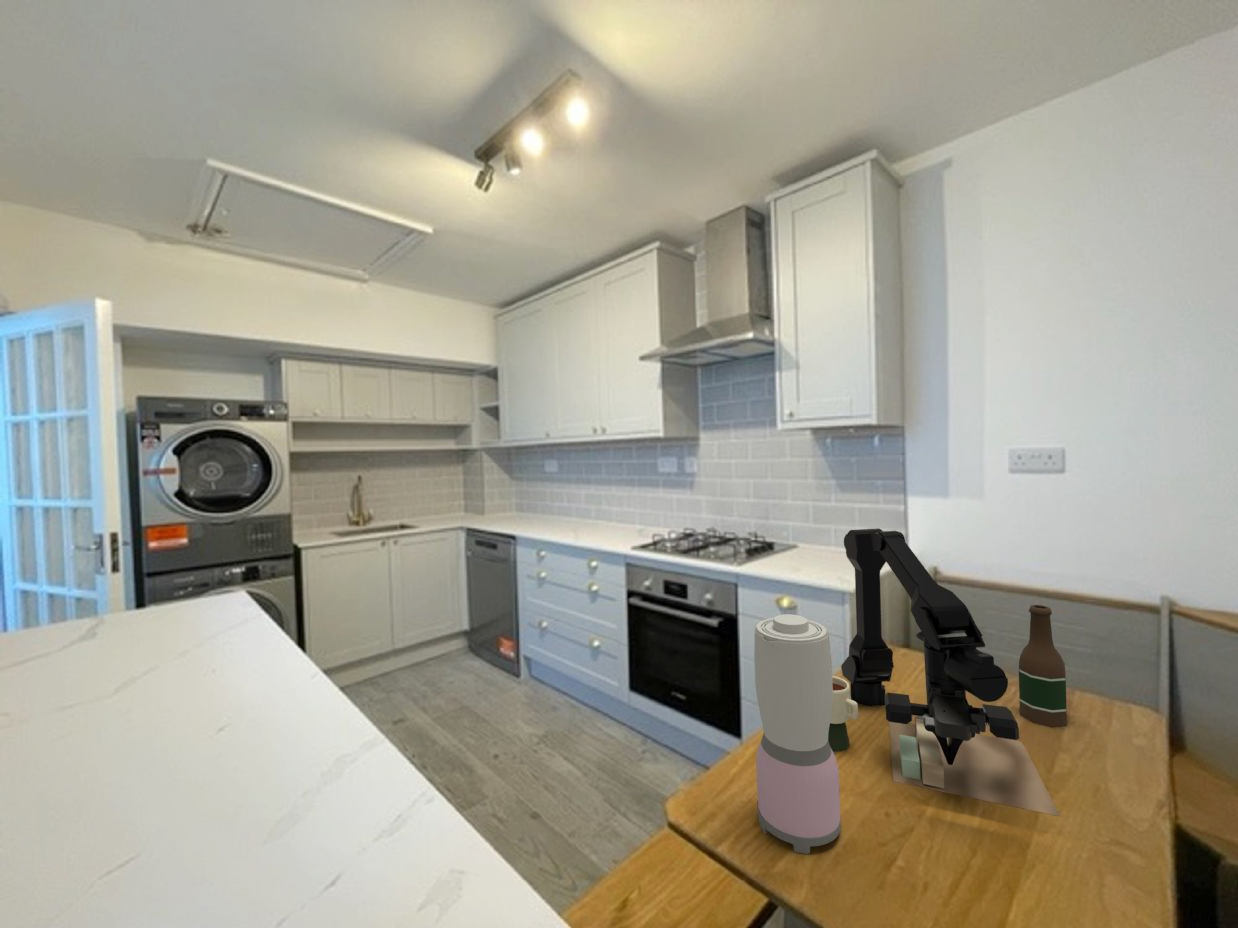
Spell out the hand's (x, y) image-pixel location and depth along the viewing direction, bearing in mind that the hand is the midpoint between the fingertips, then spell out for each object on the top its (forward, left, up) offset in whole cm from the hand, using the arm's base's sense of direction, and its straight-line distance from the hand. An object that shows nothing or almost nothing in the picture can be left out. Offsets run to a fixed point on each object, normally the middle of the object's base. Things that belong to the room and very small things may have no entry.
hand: (949, 763), depth 87 cm
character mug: (-19, +3, -3) cm, 19 cm away
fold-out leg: (-3, +3, -1) cm, 4 cm away
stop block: (-6, 0, -2) cm, 6 cm away
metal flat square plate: (+2, +5, -3) cm, 6 cm away
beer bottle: (+19, +27, -3) cm, 33 cm away
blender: (-22, -18, -3) cm, 29 cm away
